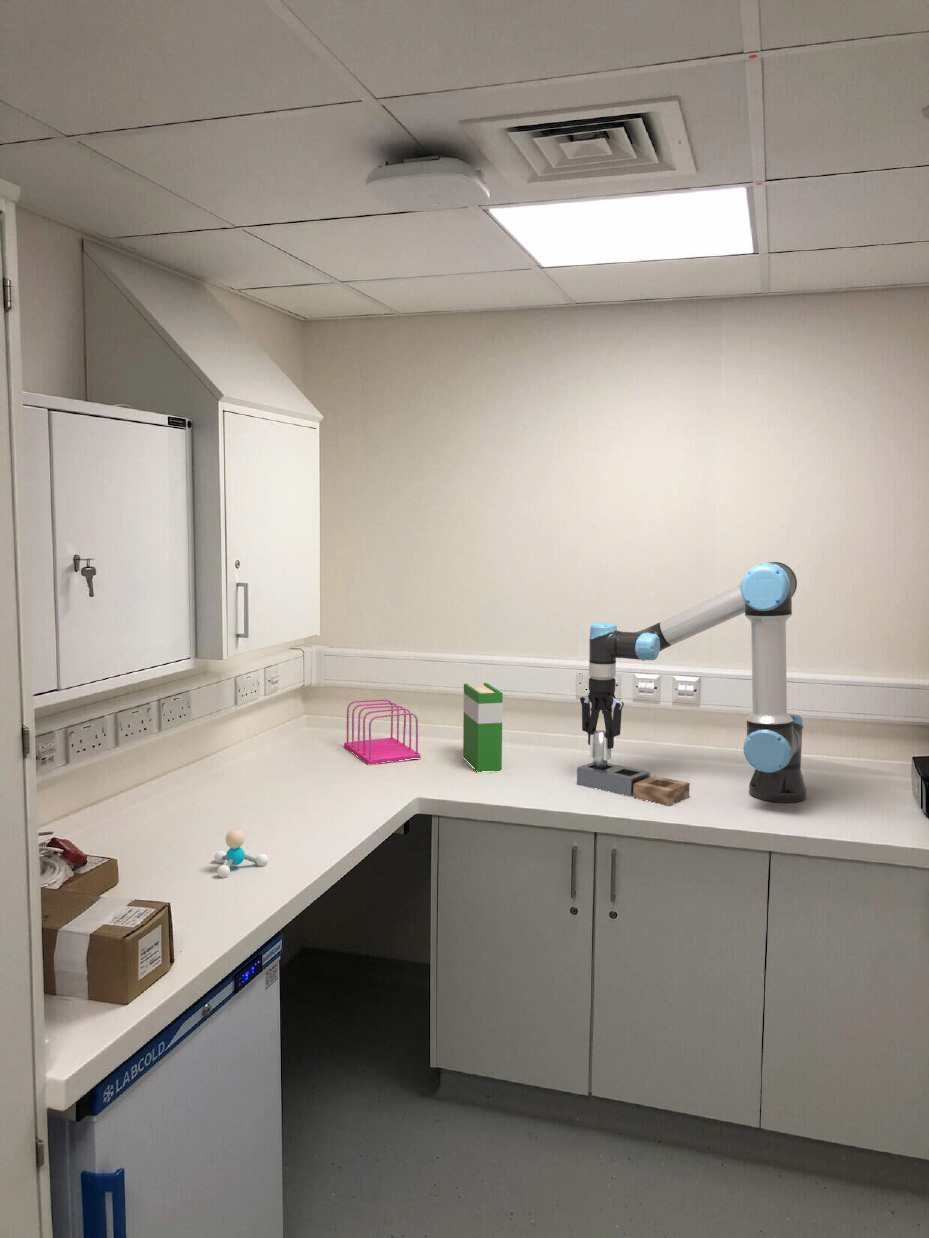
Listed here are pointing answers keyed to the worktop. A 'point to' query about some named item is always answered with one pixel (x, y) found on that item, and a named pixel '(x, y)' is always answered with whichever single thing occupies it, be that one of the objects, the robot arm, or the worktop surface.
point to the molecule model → (235, 854)
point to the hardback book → (483, 727)
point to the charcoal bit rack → (611, 778)
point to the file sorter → (384, 747)
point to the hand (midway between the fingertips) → (600, 757)
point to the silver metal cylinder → (599, 750)
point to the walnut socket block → (661, 790)
